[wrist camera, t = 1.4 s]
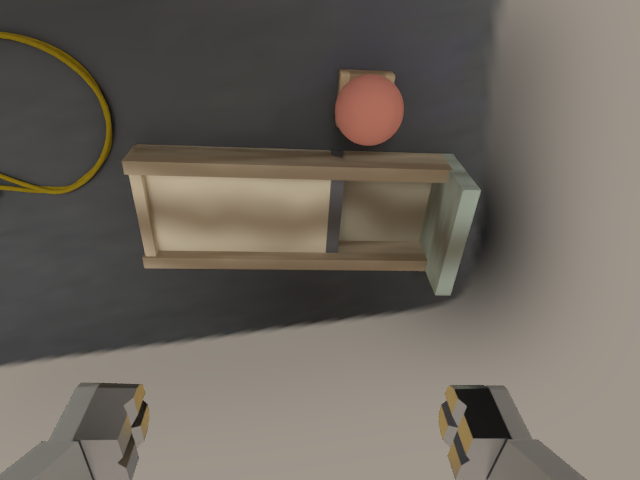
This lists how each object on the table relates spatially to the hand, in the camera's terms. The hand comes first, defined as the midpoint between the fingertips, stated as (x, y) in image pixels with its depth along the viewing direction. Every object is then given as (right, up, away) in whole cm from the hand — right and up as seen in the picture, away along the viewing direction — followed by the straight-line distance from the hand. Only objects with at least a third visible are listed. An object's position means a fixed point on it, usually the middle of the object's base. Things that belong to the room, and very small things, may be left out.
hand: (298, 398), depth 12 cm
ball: (+4, +13, +16) cm, 21 cm away
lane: (-2, +7, +23) cm, 24 cm away
